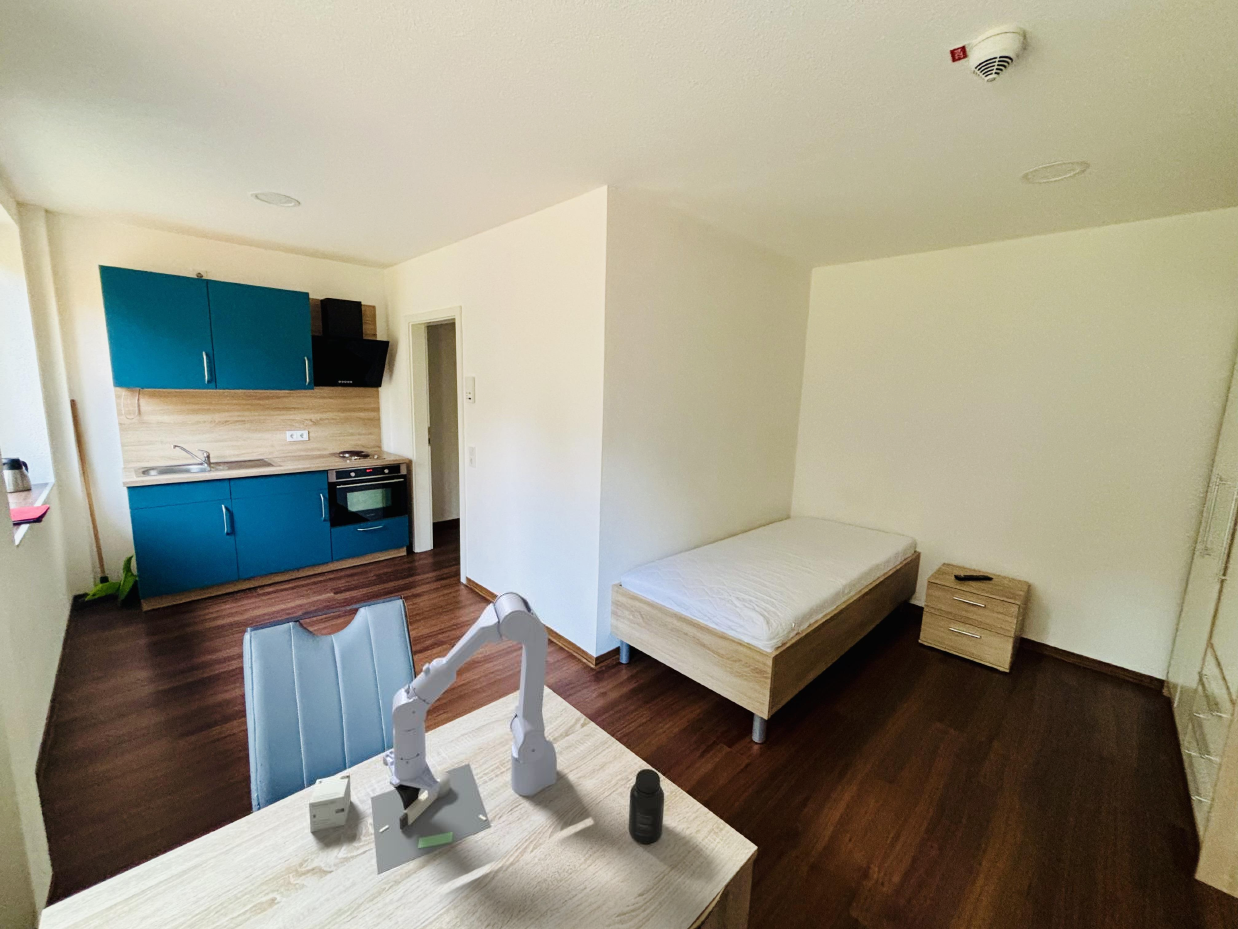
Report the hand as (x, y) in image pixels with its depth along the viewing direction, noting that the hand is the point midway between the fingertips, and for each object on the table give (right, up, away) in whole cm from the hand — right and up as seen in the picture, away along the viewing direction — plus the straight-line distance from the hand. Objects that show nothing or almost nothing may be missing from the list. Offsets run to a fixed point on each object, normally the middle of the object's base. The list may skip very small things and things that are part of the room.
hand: (411, 809), depth 97 cm
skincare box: (-16, -2, 0) cm, 16 cm away
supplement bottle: (+47, -5, 0) cm, 47 cm away
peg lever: (+2, -1, +2) cm, 3 cm away
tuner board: (+3, -2, +1) cm, 4 cm away
